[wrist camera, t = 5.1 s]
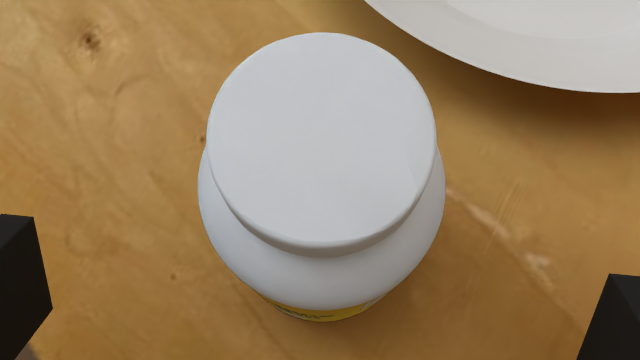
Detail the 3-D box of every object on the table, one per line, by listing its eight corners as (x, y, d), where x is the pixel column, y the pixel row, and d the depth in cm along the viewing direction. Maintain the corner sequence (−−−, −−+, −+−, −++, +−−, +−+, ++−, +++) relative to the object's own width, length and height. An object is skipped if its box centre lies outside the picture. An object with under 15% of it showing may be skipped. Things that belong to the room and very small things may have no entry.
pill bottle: (216, 206, 23) (109, 67, 12) (356, 138, 23) (382, -52, 12) (285, 354, 21) (238, 360, 10) (434, 276, 22) (546, 199, 11)
